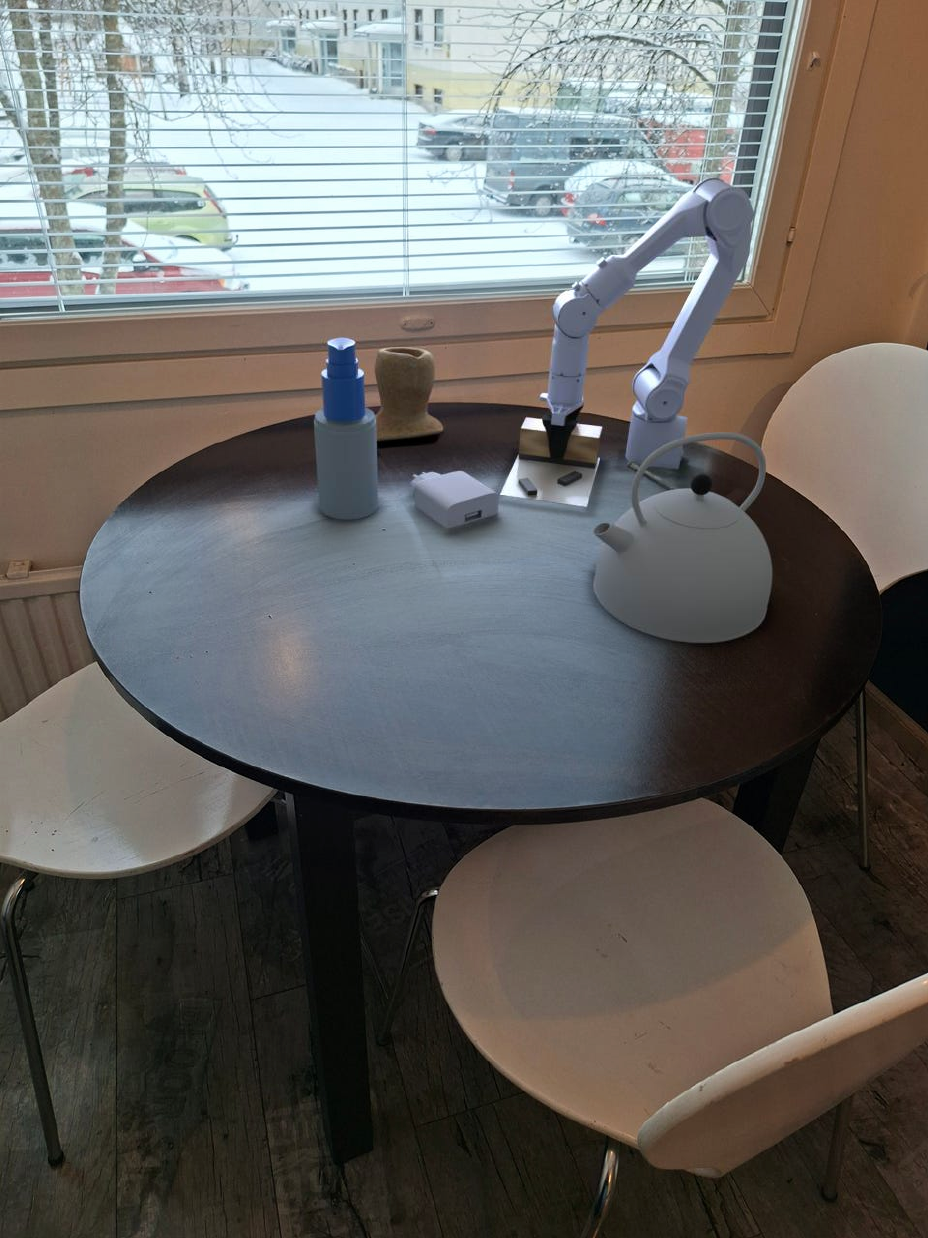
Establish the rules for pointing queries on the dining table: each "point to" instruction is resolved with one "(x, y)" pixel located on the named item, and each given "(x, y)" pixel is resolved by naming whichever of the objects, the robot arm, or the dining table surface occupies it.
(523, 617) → the dining table surface
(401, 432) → the stone cup
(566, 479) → the black angular block
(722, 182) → the robot arm
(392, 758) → the dining table surface
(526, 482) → the dark grey rectangular block
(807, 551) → the dining table surface
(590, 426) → the eraser
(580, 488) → the whiteboard
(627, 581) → the kettle
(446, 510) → the charger
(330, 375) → the spray bottle
